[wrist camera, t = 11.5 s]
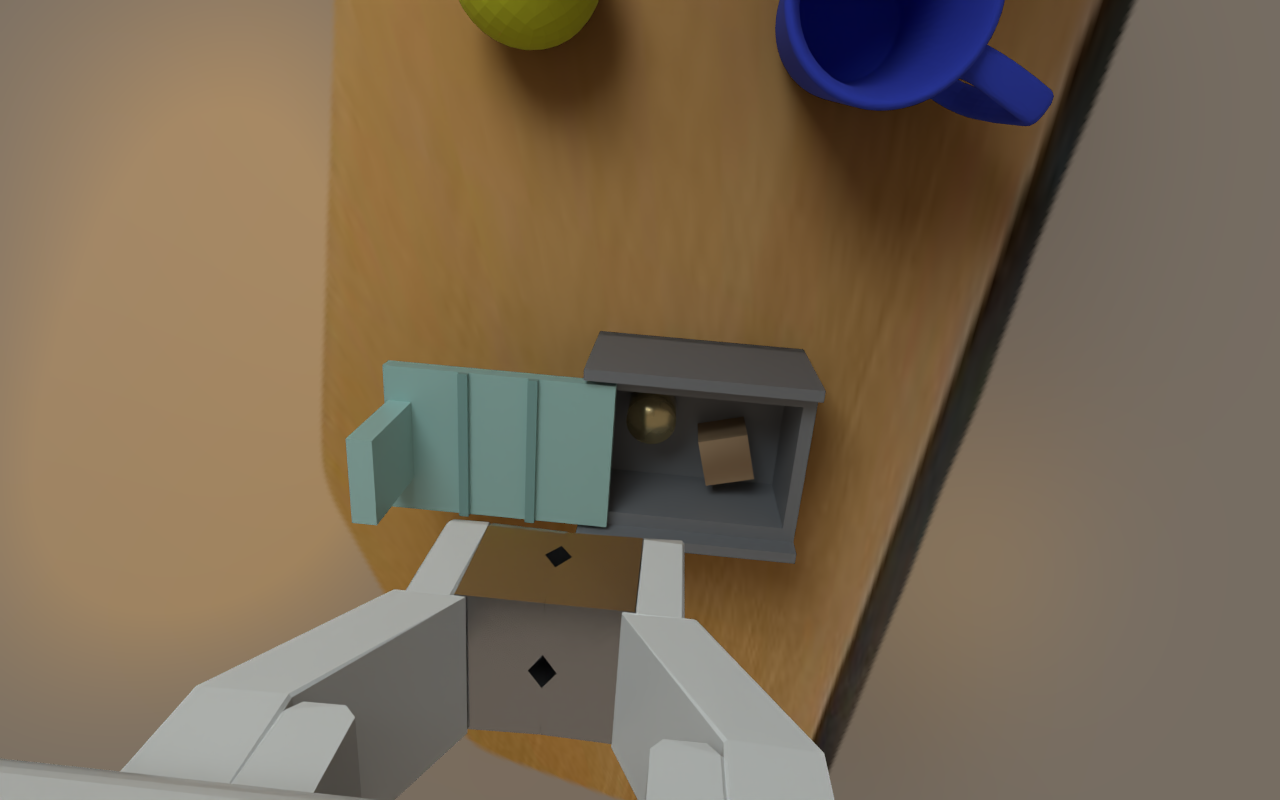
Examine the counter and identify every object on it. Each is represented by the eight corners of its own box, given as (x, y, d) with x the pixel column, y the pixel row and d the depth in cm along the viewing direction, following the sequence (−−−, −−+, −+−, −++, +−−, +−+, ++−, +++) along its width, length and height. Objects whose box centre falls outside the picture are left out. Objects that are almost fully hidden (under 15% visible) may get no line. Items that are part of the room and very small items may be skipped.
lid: (388, 360, 37) (338, 399, 32) (617, 381, 37) (605, 424, 32) (395, 499, 40) (350, 556, 35) (607, 519, 40) (595, 580, 35)
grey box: (600, 331, 42) (583, 369, 36) (803, 349, 42) (825, 391, 35) (591, 481, 46) (575, 541, 39) (778, 499, 46) (794, 563, 39)
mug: (914, 186, 39) (987, 204, 29) (727, 57, 37) (742, 33, 28) (1021, 41, 36) (1139, 10, 27) (825, -105, 34) (877, -193, 25)
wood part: (697, 423, 43) (698, 442, 41) (743, 416, 43) (747, 435, 40) (704, 464, 44) (705, 485, 42) (749, 458, 44) (753, 479, 41)
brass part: (631, 379, 43) (627, 396, 40) (678, 383, 43) (677, 400, 40) (628, 423, 44) (624, 442, 41) (674, 426, 44) (673, 445, 41)
